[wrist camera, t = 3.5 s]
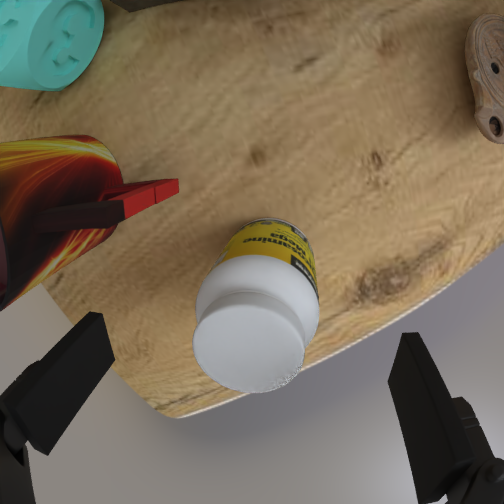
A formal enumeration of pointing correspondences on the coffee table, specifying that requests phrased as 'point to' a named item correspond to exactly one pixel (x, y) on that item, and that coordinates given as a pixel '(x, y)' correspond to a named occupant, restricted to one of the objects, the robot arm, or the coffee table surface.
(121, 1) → the dark grey storage tray
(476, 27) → the oil lamp
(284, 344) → the pill bottle
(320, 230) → the coffee table surface
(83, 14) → the decorative dice
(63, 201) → the mug
